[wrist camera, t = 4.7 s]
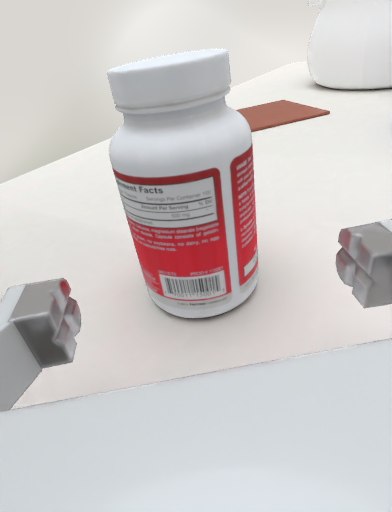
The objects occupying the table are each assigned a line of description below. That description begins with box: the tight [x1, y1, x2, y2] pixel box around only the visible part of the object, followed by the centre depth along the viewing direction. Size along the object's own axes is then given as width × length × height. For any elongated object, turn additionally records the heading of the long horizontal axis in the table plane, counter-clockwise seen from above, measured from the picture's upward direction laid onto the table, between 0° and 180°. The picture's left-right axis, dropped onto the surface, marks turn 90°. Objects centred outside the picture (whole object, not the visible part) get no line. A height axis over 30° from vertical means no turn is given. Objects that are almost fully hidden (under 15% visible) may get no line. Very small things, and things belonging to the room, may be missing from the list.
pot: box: [308, 0, 392, 89], centre depth 55 cm, size 26×24×18 cm
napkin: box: [236, 100, 330, 132], centre depth 49 cm, size 14×12×1 cm
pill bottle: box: [107, 48, 258, 318], centre depth 16 cm, size 6×6×11 cm
